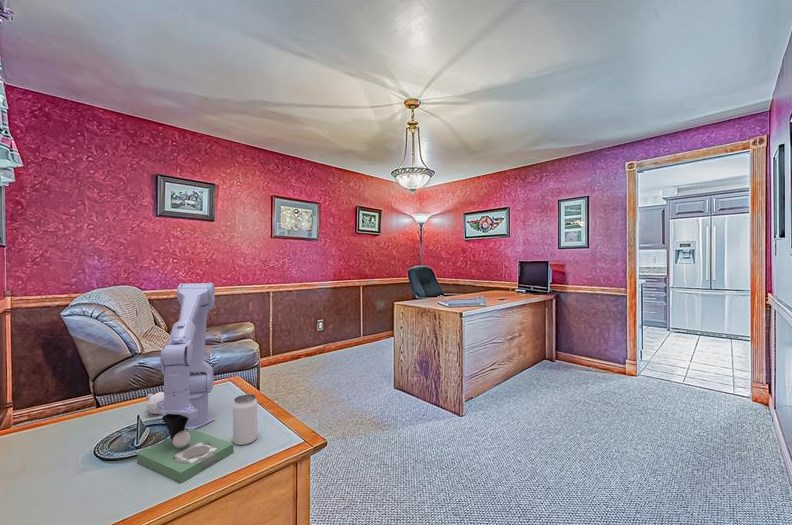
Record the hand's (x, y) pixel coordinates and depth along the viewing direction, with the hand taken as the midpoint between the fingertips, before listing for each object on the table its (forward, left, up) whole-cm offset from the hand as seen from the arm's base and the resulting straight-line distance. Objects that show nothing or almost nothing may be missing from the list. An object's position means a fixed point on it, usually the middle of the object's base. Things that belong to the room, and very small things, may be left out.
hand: (177, 440), depth 92 cm
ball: (+2, 0, +1) cm, 2 cm away
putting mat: (+4, 0, -4) cm, 5 cm away
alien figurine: (-30, +13, -4) cm, 33 cm away
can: (+10, +13, -4) cm, 17 cm away
